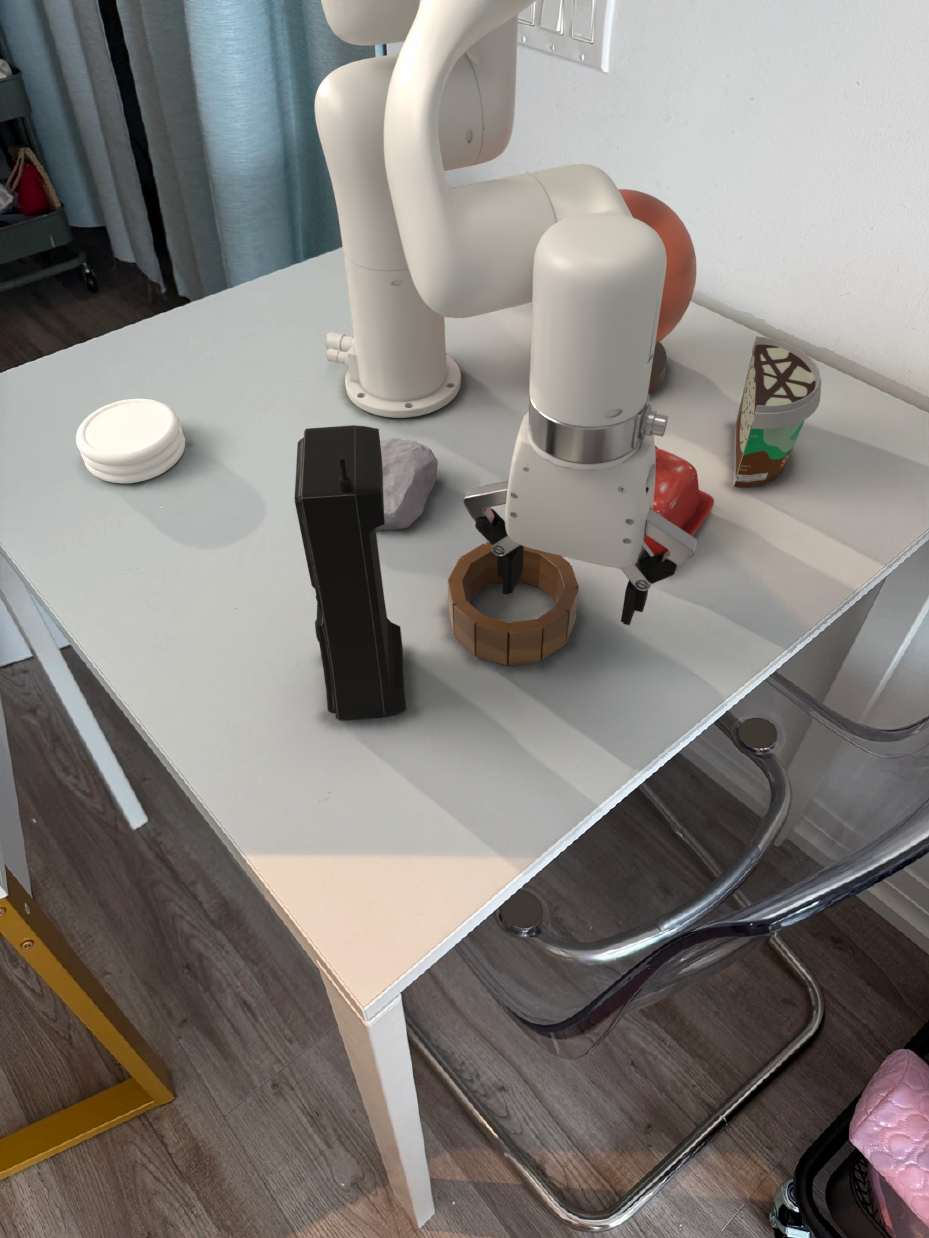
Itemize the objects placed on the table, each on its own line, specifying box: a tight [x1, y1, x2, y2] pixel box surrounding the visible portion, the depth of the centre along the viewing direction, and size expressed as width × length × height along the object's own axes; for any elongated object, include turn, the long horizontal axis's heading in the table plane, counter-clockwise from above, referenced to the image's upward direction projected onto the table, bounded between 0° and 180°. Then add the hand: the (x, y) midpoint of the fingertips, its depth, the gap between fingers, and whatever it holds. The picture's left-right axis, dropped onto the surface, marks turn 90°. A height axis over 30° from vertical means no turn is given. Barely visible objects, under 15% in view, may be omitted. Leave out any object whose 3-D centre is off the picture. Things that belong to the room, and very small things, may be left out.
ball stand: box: [618, 188, 697, 395], centre depth 93 cm, size 16×16×19 cm
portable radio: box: [294, 424, 407, 721], centre depth 63 cm, size 8×6×25 cm
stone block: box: [376, 437, 439, 532], centre depth 86 cm, size 12×5×10 cm
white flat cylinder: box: [75, 398, 186, 484], centre depth 91 cm, size 10×10×4 cm
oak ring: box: [447, 541, 580, 667], centre depth 75 cm, size 10×10×4 cm
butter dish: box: [643, 445, 715, 555], centre depth 81 cm, size 12×12×8 cm
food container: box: [733, 335, 822, 488], centre depth 86 cm, size 12×6×10 cm, turn 168°
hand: (570, 597), depth 72 cm, fingers open, 9 cm apart
